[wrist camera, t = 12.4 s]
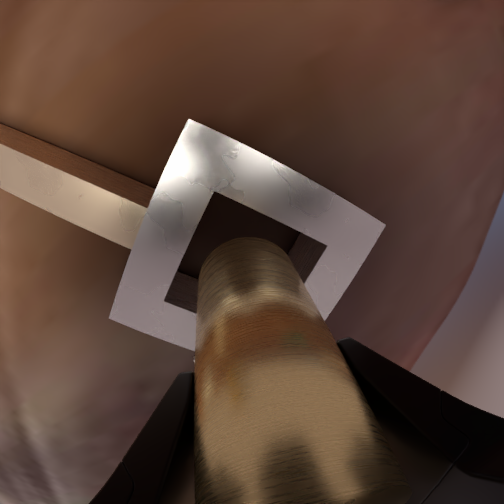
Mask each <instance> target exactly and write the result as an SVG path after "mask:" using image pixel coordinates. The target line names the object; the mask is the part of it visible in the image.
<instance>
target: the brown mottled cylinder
mask: <svg viewBox="0 0 504 504" xmlns="http://www.w3.org/2000/svg"><path fill="white" fill-rule="evenodd" d="M194 485H195V504H405V503H406V502H407V501H408V499H409V498H410V496H411V494H412V490H411V488H410V486H409V483H408V481H407V479H406V477H405V475H404V473H403V471H402V469H401V467H400V465H399V463H398V461H397V459H396V457H395V455H394V453H393V451H392V449H391V447H390V445H389V443H388V441H387V439H386V437H385V435H384V433H383V431H382V429H381V427H380V425H379V423H378V421H377V419H376V417H375V415H374V413H373V411H372V409H371V408H370V406H369V404H368V402H367V400H366V398H365V396H364V394H363V392H362V390H361V388H360V386H359V384H358V383H357V381H356V379H355V377H354V375H353V373H352V371H351V369H350V367H349V366H348V364H347V362H346V360H345V358H344V356H343V354H342V352H341V351H340V349H339V347H338V345H337V343H336V341H335V340H334V338H333V336H332V334H331V332H330V330H329V328H328V327H327V325H326V323H325V321H324V319H323V318H322V316H321V314H320V312H319V310H318V308H317V307H316V305H315V303H314V301H313V299H312V298H311V296H310V294H309V292H308V290H307V289H306V287H305V285H304V283H303V282H302V280H301V278H300V276H299V274H298V273H297V271H296V269H295V267H294V266H293V264H292V262H291V260H290V259H289V257H288V256H287V254H286V253H285V252H284V251H283V250H282V249H281V248H280V247H279V246H277V245H276V244H274V243H272V242H270V241H268V240H265V239H261V238H255V237H243V238H237V239H233V240H230V241H228V242H225V243H224V244H222V245H220V246H219V247H217V248H216V249H215V250H213V251H212V252H211V253H210V254H209V256H208V257H207V258H206V260H205V261H204V263H203V265H202V267H201V270H200V274H199V281H198V297H197V317H196V340H195V370H194Z"/></svg>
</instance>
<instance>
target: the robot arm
mask: <svg viewBox="0 0 504 504" xmlns="http://www.w3.org/2000/svg"><path fill="white" fill-rule="evenodd" d="M336 343H337V345H338V347H339V349H340V351H341V352H342V354H343V356H344V358H345V360H346V362H347V364H348V366H349V367H350V369H351V371H352V373H353V375H354V377H355V379H356V381H357V383H358V384H359V386H360V388H361V390H362V392H363V394H364V396H365V398H366V400H367V402H368V404H369V406H370V408H371V409H372V411H373V413H374V415H375V417H376V419H377V421H378V423H379V425H380V427H381V429H382V431H383V433H384V435H385V437H386V439H387V441H388V443H389V445H390V447H391V449H392V451H393V453H394V455H395V457H396V459H397V461H398V463H399V465H400V467H401V469H402V471H403V473H404V475H405V477H406V479H407V481H408V483H409V486H410V488H411V490H412V494H411V496H410V498H409V499H408V501H407V502H406V503H405V504H504V418H501V417H499V416H496V415H493V414H491V413H489V412H486V411H484V410H481V409H479V408H477V407H474V406H472V405H469V404H467V403H465V402H463V401H462V400H459V399H458V398H456V397H453V396H452V395H450V394H448V393H447V392H445V391H441V390H440V389H439V388H437V387H436V386H434V385H432V384H430V383H429V382H427V381H425V380H423V379H421V378H420V377H418V376H416V375H414V374H412V373H411V372H409V371H407V370H406V369H404V368H402V367H400V366H399V365H397V364H395V363H393V362H392V361H390V360H388V359H387V358H385V357H383V356H381V355H380V354H378V353H376V352H374V351H373V350H371V349H369V348H368V347H366V346H364V345H363V344H361V343H359V342H357V341H356V340H354V339H352V338H350V337H348V338H344V339H341V340H338V341H337V342H336ZM122 461H123V462H120V463H119V465H118V466H117V468H116V469H115V471H114V472H113V474H112V475H111V476H110V478H109V479H108V481H107V482H106V483H105V485H104V486H103V487H102V488H101V490H100V491H99V492H98V493H97V495H96V496H95V497H94V498H93V499H92V501H91V502H90V503H89V504H195V485H194V372H184V373H180V374H178V376H177V377H176V379H175V380H174V382H173V383H172V385H171V386H170V388H169V389H168V391H167V392H166V394H165V395H164V397H163V399H162V400H161V402H160V403H159V405H158V406H157V408H156V409H155V411H154V412H153V414H152V415H151V417H150V418H149V420H148V421H147V423H146V424H145V426H144V427H143V429H142V430H141V432H140V433H139V435H138V436H137V438H136V439H135V441H134V442H133V444H132V445H131V447H130V448H129V450H128V451H127V453H126V454H125V456H124V457H123V459H122Z"/></svg>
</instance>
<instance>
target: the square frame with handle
mask: <svg viewBox="0 0 504 504" xmlns="http://www.w3.org/2000/svg"><path fill="white" fill-rule="evenodd" d="M0 188H1V189H3V190H5V191H7V192H9V193H11V194H13V195H15V196H17V197H19V198H21V199H23V200H25V201H27V202H29V203H31V204H33V205H35V206H38V207H40V208H42V209H44V210H46V211H48V212H50V213H52V214H54V215H56V216H58V217H61V218H63V219H65V220H67V221H69V222H71V223H73V224H75V225H78V226H80V227H82V228H84V229H86V230H89V231H91V232H93V233H95V234H97V235H100V236H102V237H104V238H106V239H108V240H111V241H113V242H115V243H117V244H120V245H122V246H124V247H127V248H129V249H131V253H130V256H129V258H128V261H127V264H126V267H125V270H124V273H123V275H122V278H121V281H120V284H119V287H118V291H117V294H116V297H115V300H114V303H113V306H112V310H111V313H110V316H109V319H111V320H114V321H116V322H118V323H121V324H123V325H126V326H128V327H131V328H133V329H136V330H138V331H141V332H143V333H146V334H148V335H151V336H154V337H156V338H159V339H162V340H164V341H167V342H170V343H173V344H175V345H178V346H181V347H184V348H187V349H190V350H193V351H195V340H196V317H197V297H198V281H199V280H198V279H195V278H193V277H190V276H188V275H185V274H183V273H181V272H178V271H177V269H178V267H179V264H180V262H181V260H182V258H183V256H184V253H185V251H186V249H187V247H188V245H189V243H190V240H191V238H192V236H193V234H194V232H195V230H196V228H197V225H198V223H199V221H200V219H201V217H202V215H203V213H204V211H205V209H206V207H207V205H208V203H209V201H210V198H211V196H212V194H213V192H214V191H215V192H218V193H220V194H222V195H224V196H226V197H228V198H231V199H233V200H235V201H237V202H239V203H241V204H243V205H245V206H248V207H250V208H252V209H254V210H256V211H258V212H260V213H262V214H264V215H266V216H268V217H271V218H273V219H275V220H277V221H279V222H281V223H283V224H285V225H287V226H289V227H291V228H293V229H295V230H297V231H299V232H301V233H300V234H299V236H298V238H297V239H296V241H295V243H294V245H293V246H292V248H291V250H290V252H289V253H288V255H287V256H288V257H289V259H290V260H291V262H292V264H293V266H294V267H295V269H296V271H297V273H298V274H299V276H300V278H301V280H302V282H303V283H304V285H305V287H306V289H307V290H308V292H309V294H310V296H311V298H312V299H313V301H314V303H315V305H316V307H317V308H318V310H319V312H320V314H321V316H322V318H323V319H324V321H325V320H326V318H327V317H328V315H329V314H330V313H331V311H332V310H333V308H334V307H335V305H336V304H337V302H338V301H339V299H340V298H341V296H342V295H343V293H344V292H345V290H346V289H347V287H348V286H349V284H350V283H351V281H352V280H353V278H354V276H355V275H356V273H357V272H358V270H359V269H360V267H361V265H362V264H363V262H364V261H365V259H366V257H367V256H368V254H369V253H370V251H371V249H372V248H373V246H374V244H375V243H376V241H377V239H378V238H379V236H380V234H381V233H382V231H383V229H384V227H385V226H386V225H385V224H384V223H382V222H381V221H379V220H377V219H376V218H374V217H373V216H371V215H369V214H368V213H366V212H365V211H363V210H361V209H360V208H358V207H357V206H355V205H353V204H352V203H350V202H348V201H347V200H345V199H343V198H342V197H340V196H338V195H337V194H335V193H333V192H331V191H330V190H328V189H326V188H325V187H323V186H321V185H319V184H318V183H316V182H314V181H312V180H310V179H309V178H307V177H305V176H303V175H301V174H300V173H298V172H296V171H294V170H292V169H291V168H289V167H287V166H285V165H283V164H281V163H279V162H277V161H276V160H274V159H272V158H270V157H268V156H266V155H264V154H262V153H260V152H258V151H256V150H254V149H252V148H250V147H248V146H246V145H244V144H242V143H240V142H238V141H236V140H234V139H232V138H230V137H228V136H226V135H224V134H222V133H219V132H217V131H215V130H213V129H211V128H209V127H207V126H204V125H202V124H200V123H198V122H196V121H193V120H191V119H188V121H187V123H186V125H185V127H184V129H183V131H182V133H181V135H180V137H179V139H178V141H177V143H176V145H175V148H174V150H173V152H172V154H171V156H170V158H169V160H168V163H167V165H166V167H165V169H164V171H163V174H162V176H161V178H160V180H159V183H158V185H157V187H156V189H154V188H151V187H149V186H147V185H145V184H142V183H140V182H138V181H135V180H133V179H131V178H129V177H126V176H124V175H122V174H119V173H117V172H115V171H112V170H110V169H108V168H105V167H103V166H101V165H98V164H96V163H94V162H91V161H89V160H87V159H84V158H82V157H80V156H77V155H75V154H73V153H70V152H68V151H65V150H63V149H61V148H58V147H56V146H54V145H51V144H49V143H46V142H44V141H42V140H39V139H37V138H34V137H32V136H29V135H27V134H25V133H22V132H20V131H17V130H15V129H12V128H10V127H7V126H5V125H3V124H0Z"/></svg>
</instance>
